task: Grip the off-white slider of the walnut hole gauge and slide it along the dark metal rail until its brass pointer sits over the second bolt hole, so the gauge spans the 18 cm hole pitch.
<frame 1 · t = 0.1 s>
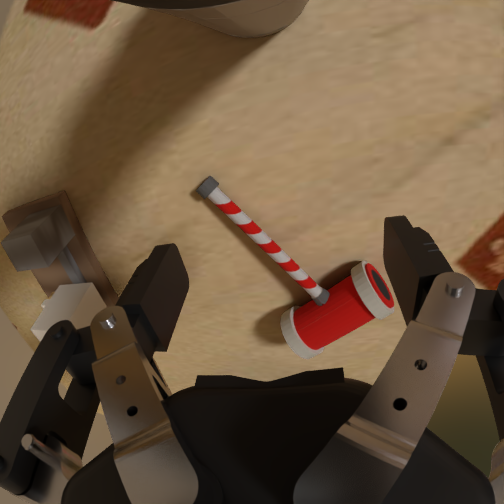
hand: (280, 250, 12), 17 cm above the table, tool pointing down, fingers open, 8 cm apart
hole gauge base: (76, 282, 39), on the table
toy hammer: (299, 264, 34), on the table
gauge slider: (59, 317, 33), point 7 cm above the table, slide at 10.0 cm
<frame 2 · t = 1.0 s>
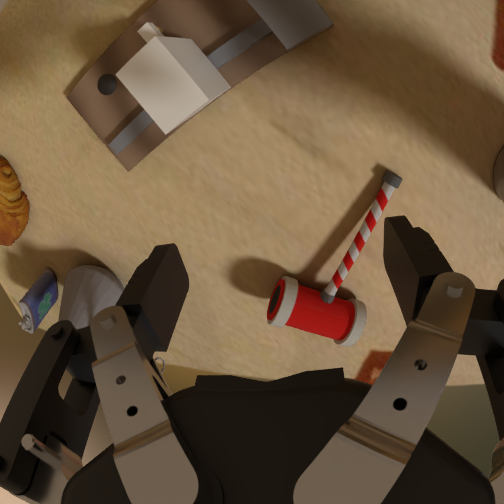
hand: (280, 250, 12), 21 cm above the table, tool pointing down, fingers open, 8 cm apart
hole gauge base: (184, 52, 26), on the table
croissant: (4, 196, 39), on the table
coffee pot: (129, 283, 45), on the table
flask: (52, 284, 49), on the table
toy hammer: (334, 262, 39), on the table
gauge slider: (166, 64, 21), point 7 cm above the table, slide at 10.0 cm
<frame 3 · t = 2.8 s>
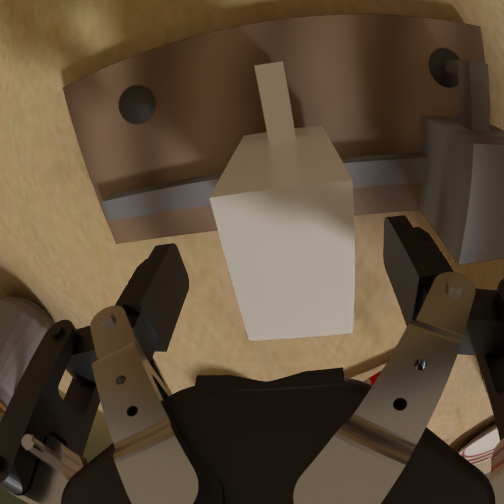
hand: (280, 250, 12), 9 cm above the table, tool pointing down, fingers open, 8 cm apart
dinner plate: (501, 428, 42), on the table
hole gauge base: (283, 120, 17), on the table
coffee pot: (67, 333, 32), on the table
gauge slider: (286, 179, 12), point 7 cm above the table, slide at 10.0 cm
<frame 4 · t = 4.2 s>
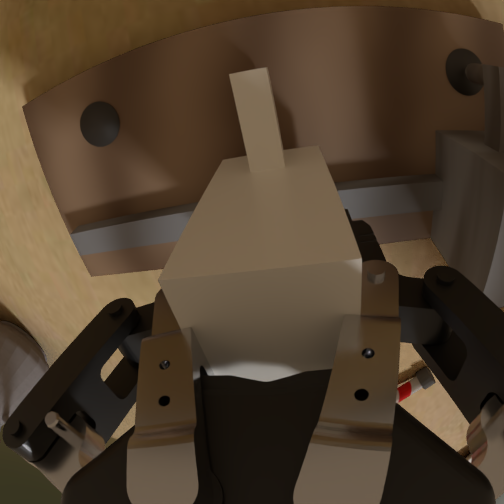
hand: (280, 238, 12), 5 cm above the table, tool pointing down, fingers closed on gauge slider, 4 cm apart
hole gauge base: (271, 137, 15), on the table
coffee pot: (54, 358, 30), on the table
toy hammer: (313, 416, 31), on the table
gauge slider: (272, 224, 10), point 7 cm above the table, slide at 10.0 cm, touching gripper
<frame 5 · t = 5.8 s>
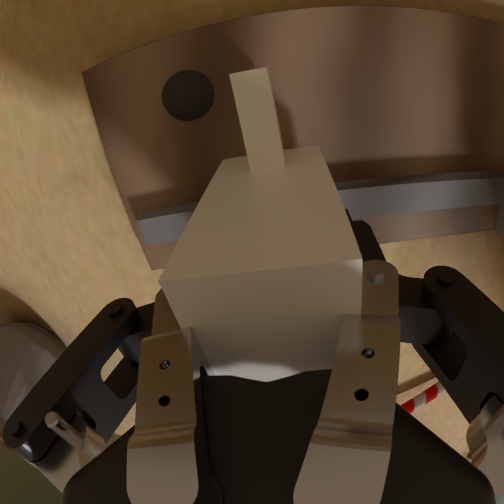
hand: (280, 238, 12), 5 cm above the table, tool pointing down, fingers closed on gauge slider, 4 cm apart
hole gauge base: (367, 126, 14), on the table
coffee pot: (82, 361, 29), on the table
toy hammer: (360, 409, 30), on the table
gauge slider: (272, 224, 10), point 7 cm above the table, slide at 14.8 cm, touching gripper
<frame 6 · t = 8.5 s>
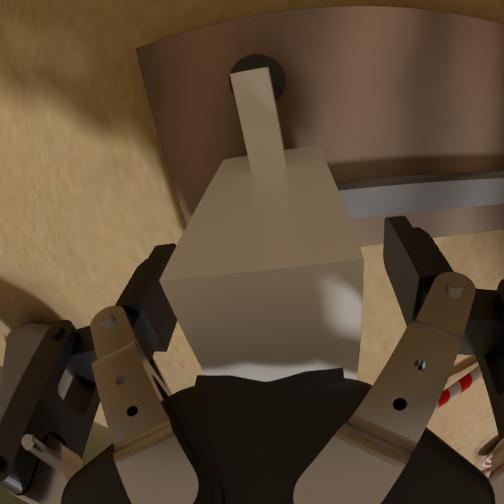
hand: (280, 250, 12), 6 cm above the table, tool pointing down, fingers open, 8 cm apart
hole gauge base: (423, 123, 13), on the table
coffee pot: (103, 363, 28), on the table
toy hammer: (394, 402, 29), on the table
gauge slider: (273, 225, 10), point 7 cm above the table, slide at 17.9 cm
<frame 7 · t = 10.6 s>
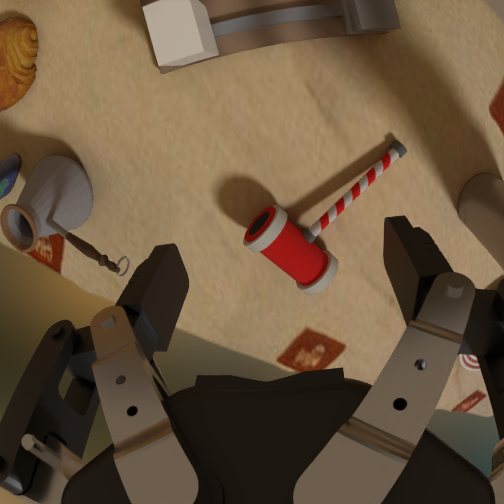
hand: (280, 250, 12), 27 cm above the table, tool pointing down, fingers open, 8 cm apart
dinner plate: (503, 320, 52), on the table
croissant: (9, 65, 29), on the table
coffee pot: (97, 191, 40), on the table
flask: (11, 175, 39), on the table
toy hammer: (320, 209, 41), on the table
gauge slider: (180, 16, 22), point 7 cm above the table, slide at 17.9 cm
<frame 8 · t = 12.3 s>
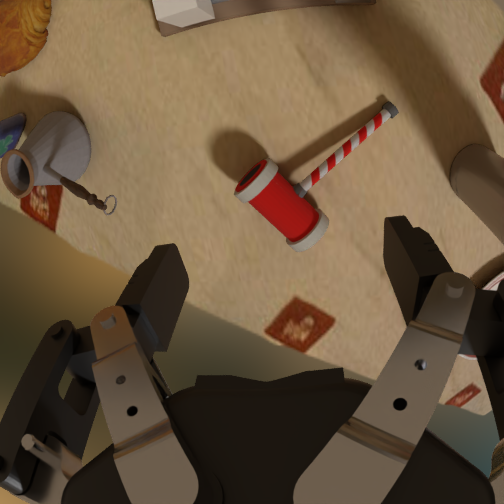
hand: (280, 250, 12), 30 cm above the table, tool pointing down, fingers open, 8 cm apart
dinner plate: (500, 306, 51), on the table
croissant: (23, 31, 29), on the table
coffee pot: (95, 147, 41), on the table
flask: (16, 133, 39), on the table
toy hammer: (313, 166, 41), on the table
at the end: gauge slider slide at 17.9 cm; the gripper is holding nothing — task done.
